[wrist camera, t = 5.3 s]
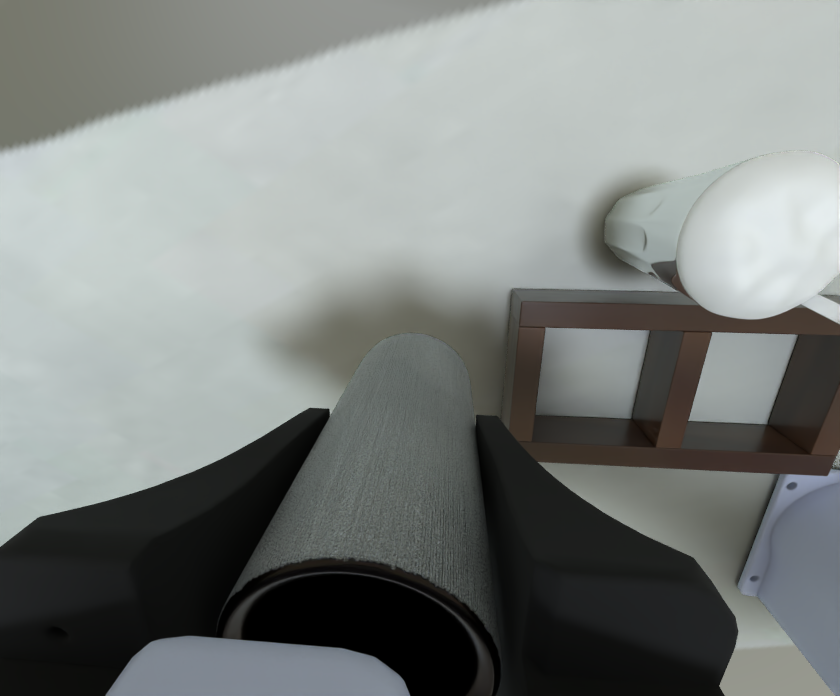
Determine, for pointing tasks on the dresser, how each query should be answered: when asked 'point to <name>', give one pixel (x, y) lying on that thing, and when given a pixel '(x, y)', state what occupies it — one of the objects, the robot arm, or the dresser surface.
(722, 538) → the dresser surface
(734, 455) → the holder
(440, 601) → the grey hollow cylinder
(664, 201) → the milkshake
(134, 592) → the robot arm
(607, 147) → the dresser surface
